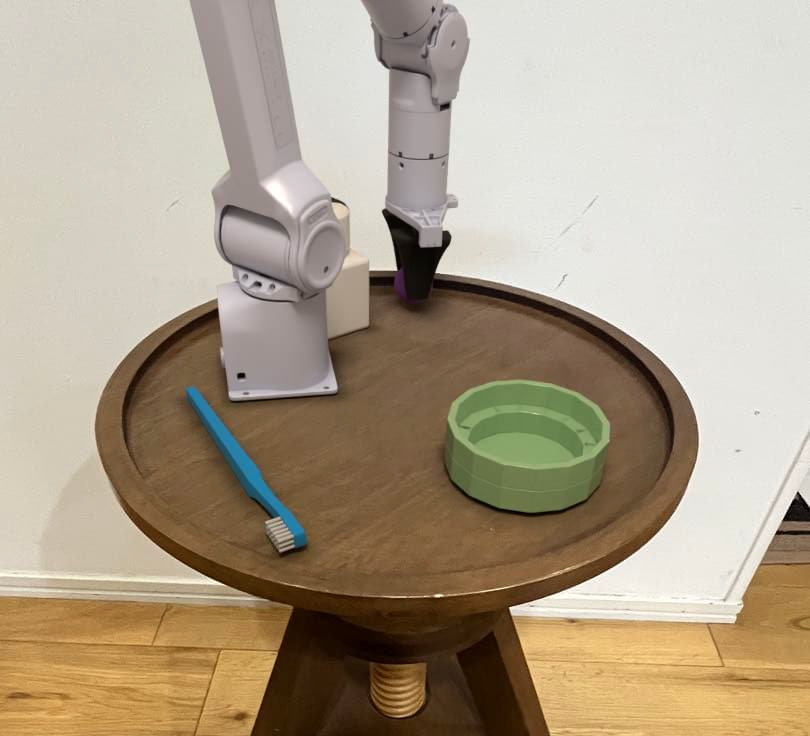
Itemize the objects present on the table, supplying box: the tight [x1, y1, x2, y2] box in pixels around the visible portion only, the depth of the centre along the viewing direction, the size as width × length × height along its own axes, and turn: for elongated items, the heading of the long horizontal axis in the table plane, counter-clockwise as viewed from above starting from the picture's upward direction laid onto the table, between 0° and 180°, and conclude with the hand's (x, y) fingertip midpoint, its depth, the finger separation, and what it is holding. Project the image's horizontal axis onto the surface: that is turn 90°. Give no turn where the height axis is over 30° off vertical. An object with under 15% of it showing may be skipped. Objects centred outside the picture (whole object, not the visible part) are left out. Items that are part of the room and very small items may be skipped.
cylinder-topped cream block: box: [326, 196, 370, 341], centre depth 81 cm, size 7×7×12 cm
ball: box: [393, 268, 434, 305], centre depth 88 cm, size 4×4×4 cm
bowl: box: [443, 378, 611, 514], centre depth 66 cm, size 12×12×4 cm
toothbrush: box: [185, 385, 308, 554], centre depth 66 cm, size 23×2×2 cm
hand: (413, 289), depth 88 cm, fingers closed on ball, 4 cm apart
